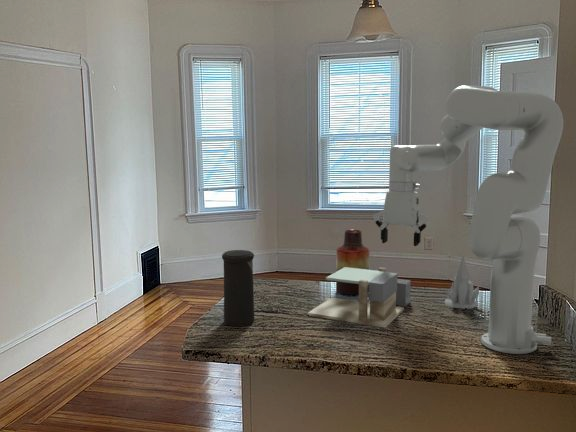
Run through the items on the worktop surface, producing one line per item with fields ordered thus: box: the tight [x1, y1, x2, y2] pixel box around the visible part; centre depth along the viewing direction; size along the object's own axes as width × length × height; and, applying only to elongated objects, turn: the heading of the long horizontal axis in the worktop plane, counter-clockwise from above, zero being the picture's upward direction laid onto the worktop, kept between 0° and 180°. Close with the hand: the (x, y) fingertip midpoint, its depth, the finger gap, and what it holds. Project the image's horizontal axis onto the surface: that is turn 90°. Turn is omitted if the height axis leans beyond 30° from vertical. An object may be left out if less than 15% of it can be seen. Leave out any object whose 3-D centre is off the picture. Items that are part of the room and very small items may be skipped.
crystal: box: [444, 256, 480, 310], centre depth 168 cm, size 10×13×15 cm
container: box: [221, 249, 255, 327], centre depth 152 cm, size 9×9×20 cm
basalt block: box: [396, 278, 412, 307], centre depth 169 cm, size 5×5×7 cm
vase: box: [335, 229, 371, 297], centre depth 181 cm, size 11×11×20 cm
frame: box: [307, 267, 405, 328], centre depth 160 cm, size 23×18×12 cm
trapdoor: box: [325, 267, 398, 302], centre depth 158 cm, size 16×14×5 cm
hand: (400, 243), depth 167 cm, fingers open, 9 cm apart
